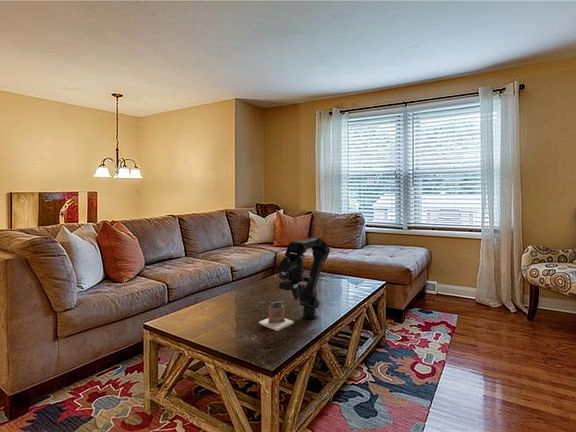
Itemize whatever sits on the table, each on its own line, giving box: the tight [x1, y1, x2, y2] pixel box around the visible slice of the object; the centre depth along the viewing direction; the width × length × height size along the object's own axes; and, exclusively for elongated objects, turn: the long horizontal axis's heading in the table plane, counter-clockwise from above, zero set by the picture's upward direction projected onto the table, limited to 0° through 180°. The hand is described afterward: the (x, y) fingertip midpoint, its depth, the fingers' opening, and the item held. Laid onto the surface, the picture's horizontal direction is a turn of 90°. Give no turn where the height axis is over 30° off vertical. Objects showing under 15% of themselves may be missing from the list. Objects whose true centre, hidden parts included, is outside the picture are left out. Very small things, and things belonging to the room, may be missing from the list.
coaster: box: [258, 317, 295, 332], centre depth 169 cm, size 12×12×1 cm
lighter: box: [268, 300, 286, 323], centre depth 168 cm, size 8×3×10 cm, turn 104°
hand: (296, 300), depth 164 cm, fingers closed
